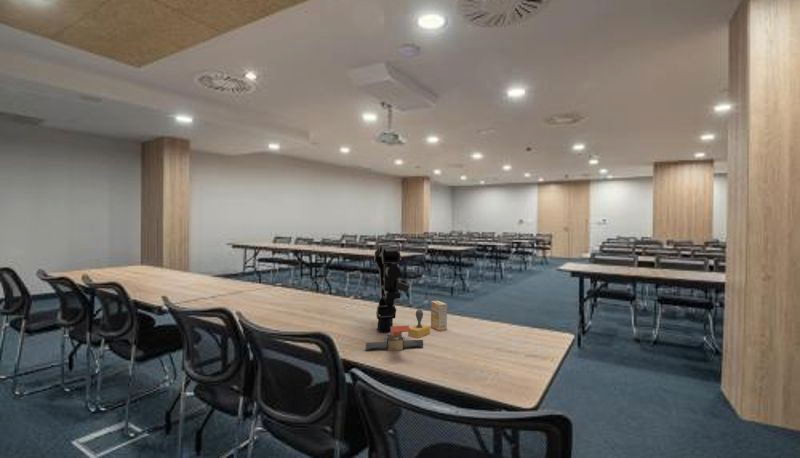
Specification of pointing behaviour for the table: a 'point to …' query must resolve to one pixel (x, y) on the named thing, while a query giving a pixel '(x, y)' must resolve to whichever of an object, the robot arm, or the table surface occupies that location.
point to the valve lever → (398, 330)
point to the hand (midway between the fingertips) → (390, 310)
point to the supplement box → (439, 315)
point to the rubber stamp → (419, 327)
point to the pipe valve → (394, 344)
